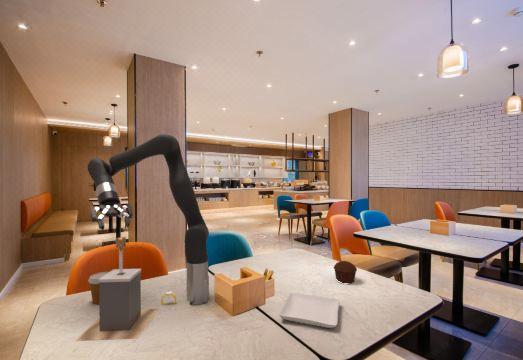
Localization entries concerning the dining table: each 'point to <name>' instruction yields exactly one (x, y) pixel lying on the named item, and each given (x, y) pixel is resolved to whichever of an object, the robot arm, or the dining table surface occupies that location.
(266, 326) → the dining table surface
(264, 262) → the dining table surface
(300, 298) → the salad plate
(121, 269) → the plunger
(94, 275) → the disposable coffee cup
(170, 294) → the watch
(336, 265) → the muffin
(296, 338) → the dining table surface
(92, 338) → the oak board
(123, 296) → the block
